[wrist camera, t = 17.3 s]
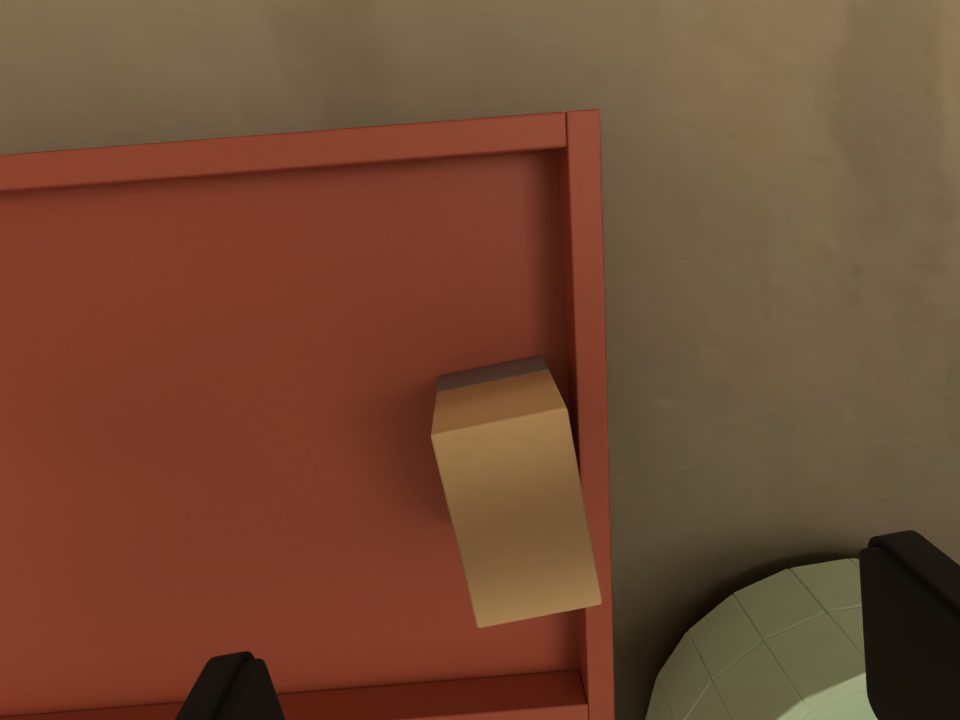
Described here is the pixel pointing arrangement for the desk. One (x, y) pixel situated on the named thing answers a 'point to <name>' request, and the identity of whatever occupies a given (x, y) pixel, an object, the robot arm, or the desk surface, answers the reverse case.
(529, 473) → the eraser
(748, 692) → the bowl
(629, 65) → the desk surface
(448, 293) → the tray
